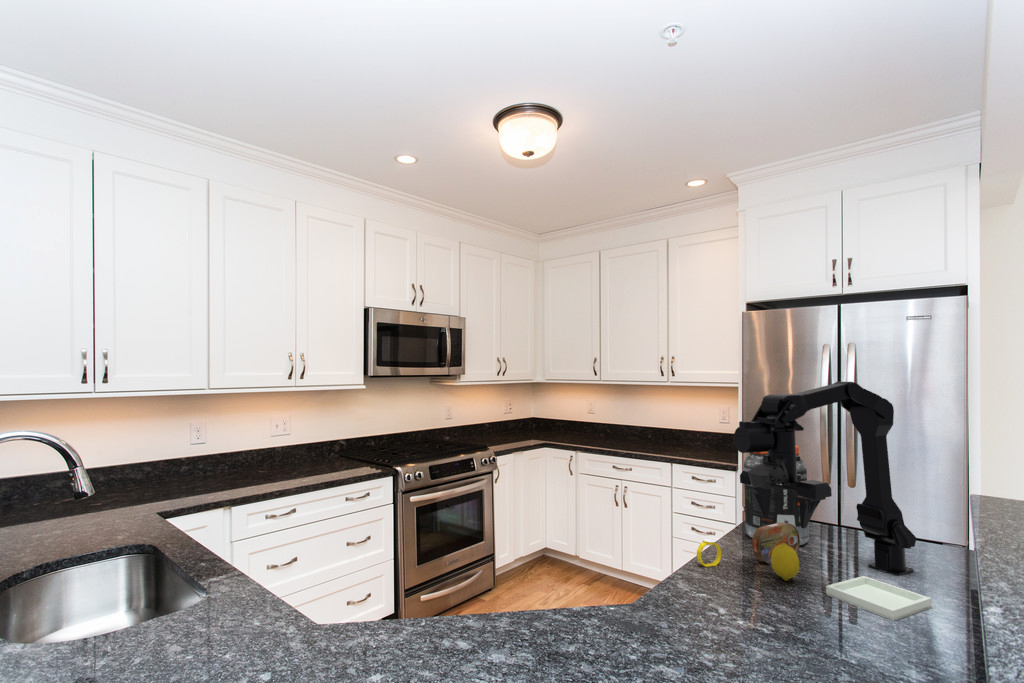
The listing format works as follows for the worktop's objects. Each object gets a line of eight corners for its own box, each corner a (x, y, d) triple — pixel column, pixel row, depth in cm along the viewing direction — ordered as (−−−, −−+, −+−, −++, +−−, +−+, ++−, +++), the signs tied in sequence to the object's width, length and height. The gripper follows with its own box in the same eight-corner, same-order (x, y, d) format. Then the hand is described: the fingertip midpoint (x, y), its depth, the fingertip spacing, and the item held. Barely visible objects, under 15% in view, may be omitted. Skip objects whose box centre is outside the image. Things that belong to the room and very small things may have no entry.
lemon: (803, 586, 110) (802, 548, 111) (775, 584, 111) (774, 546, 112) (795, 576, 116) (793, 540, 116) (768, 575, 117) (767, 538, 117)
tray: (864, 584, 111) (863, 575, 112) (931, 607, 100) (931, 598, 100) (826, 594, 106) (825, 585, 106) (893, 620, 95) (893, 610, 95)
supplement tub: (809, 552, 132) (805, 449, 134) (742, 542, 140) (739, 445, 142) (809, 535, 146) (806, 443, 148) (749, 527, 154) (746, 439, 156)
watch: (715, 563, 125) (716, 538, 125) (723, 567, 122) (724, 541, 123) (694, 564, 123) (695, 538, 124) (701, 568, 121) (702, 542, 121)
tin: (761, 566, 122) (760, 530, 123) (750, 562, 125) (749, 527, 125) (801, 556, 129) (800, 522, 130) (789, 552, 132) (788, 519, 132)
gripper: (721, 448, 120) (724, 516, 119) (796, 459, 104) (799, 539, 102) (755, 445, 125) (757, 511, 124) (831, 456, 108) (834, 532, 107)
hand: (784, 522), depth 114 cm, fingers open, 9 cm apart
